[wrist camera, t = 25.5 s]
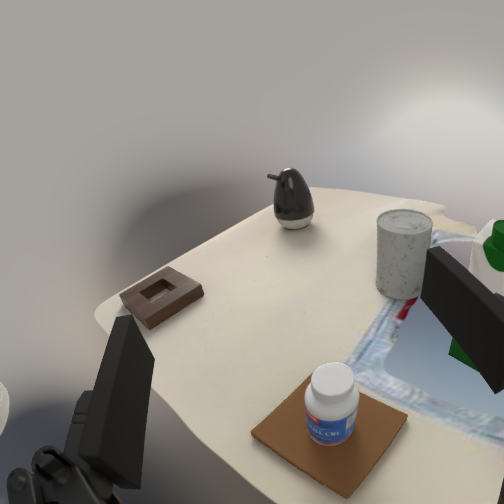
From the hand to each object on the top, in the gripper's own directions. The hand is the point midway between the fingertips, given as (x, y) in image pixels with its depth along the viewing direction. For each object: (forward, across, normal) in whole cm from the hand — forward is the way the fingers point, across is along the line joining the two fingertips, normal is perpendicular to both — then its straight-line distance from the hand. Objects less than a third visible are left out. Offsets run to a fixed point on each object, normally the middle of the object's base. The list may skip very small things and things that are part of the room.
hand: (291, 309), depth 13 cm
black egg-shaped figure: (+63, +13, -26) cm, 69 cm away
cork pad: (+7, +4, -26) cm, 27 cm away
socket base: (+42, -20, -26) cm, 53 cm away
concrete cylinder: (+30, +24, -26) cm, 47 cm away
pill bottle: (+7, +4, -25) cm, 26 cm away
